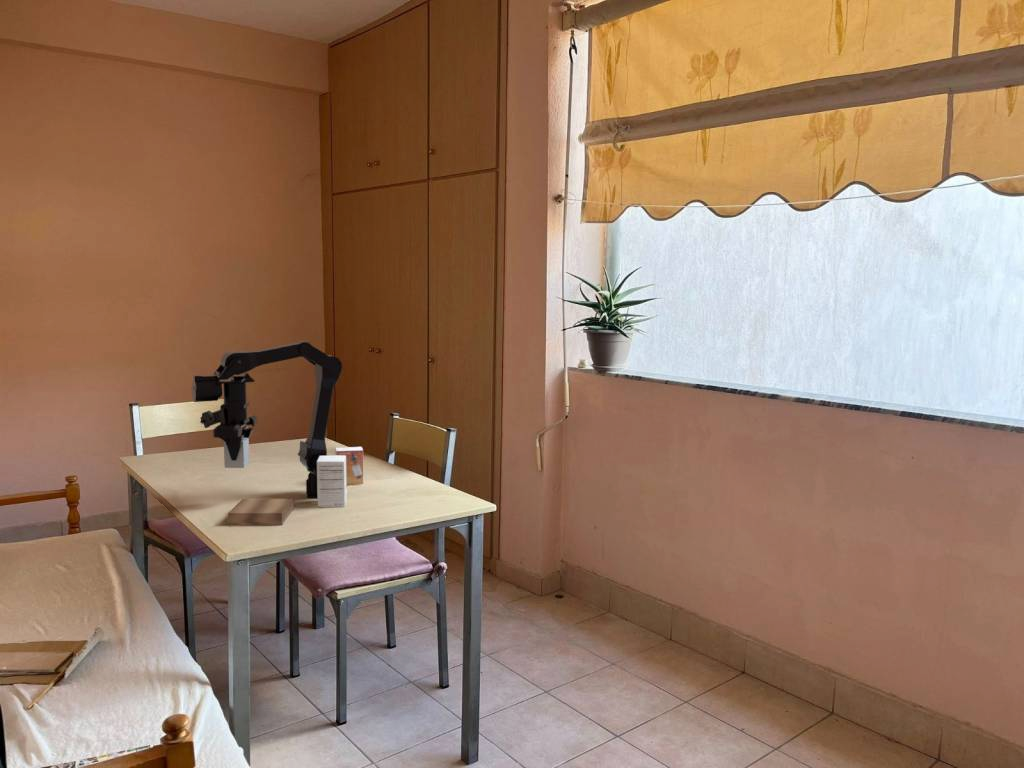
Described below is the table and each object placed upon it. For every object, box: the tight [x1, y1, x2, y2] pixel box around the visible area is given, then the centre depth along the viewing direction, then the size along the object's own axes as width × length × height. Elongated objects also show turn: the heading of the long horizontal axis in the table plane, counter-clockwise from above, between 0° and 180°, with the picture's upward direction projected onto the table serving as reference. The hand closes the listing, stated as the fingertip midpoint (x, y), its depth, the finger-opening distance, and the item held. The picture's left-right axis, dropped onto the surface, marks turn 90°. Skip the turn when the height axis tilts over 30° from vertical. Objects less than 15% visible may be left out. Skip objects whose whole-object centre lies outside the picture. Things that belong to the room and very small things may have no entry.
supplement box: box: [317, 454, 348, 508], centre depth 212 cm, size 7×7×13 cm
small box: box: [334, 446, 364, 486], centre depth 235 cm, size 8×6×10 cm
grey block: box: [223, 438, 250, 469], centre depth 208 cm, size 5×5×7 cm
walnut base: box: [227, 498, 294, 526], centre depth 199 cm, size 13×13×3 cm
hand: (237, 458), depth 208 cm, fingers closed on grey block, 5 cm apart
